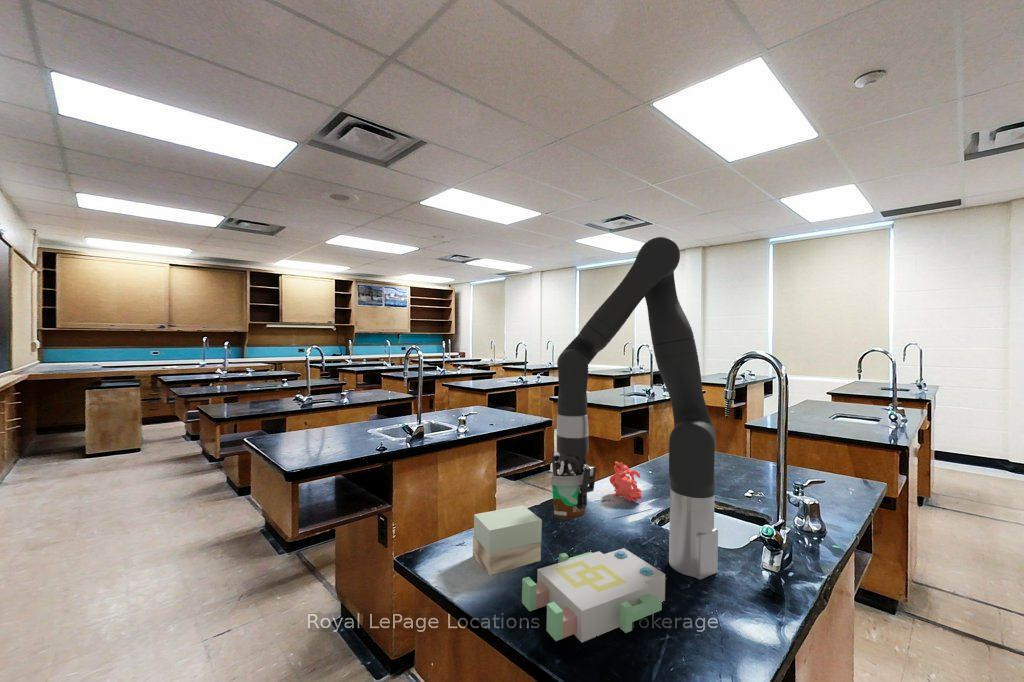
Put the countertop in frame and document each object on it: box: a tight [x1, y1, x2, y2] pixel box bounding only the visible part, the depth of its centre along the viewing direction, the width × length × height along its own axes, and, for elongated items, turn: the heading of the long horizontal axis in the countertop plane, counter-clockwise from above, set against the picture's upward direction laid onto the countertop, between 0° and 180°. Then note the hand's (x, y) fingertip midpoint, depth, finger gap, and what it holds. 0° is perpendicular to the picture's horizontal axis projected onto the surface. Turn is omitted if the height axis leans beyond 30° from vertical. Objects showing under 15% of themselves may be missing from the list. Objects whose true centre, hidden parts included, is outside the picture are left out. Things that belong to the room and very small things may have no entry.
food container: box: [550, 472, 587, 520], centre depth 100 cm, size 12×6×10 cm, turn 142°
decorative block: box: [521, 547, 666, 643], centre depth 82 cm, size 26×6×20 cm
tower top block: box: [473, 505, 543, 554], centre depth 98 cm, size 9×13×5 cm
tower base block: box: [472, 535, 542, 576], centre depth 98 cm, size 9×13×5 cm
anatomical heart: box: [608, 461, 643, 503], centre depth 136 cm, size 9×12×12 cm
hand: (572, 503), depth 101 cm, fingers closed on food container, 5 cm apart
